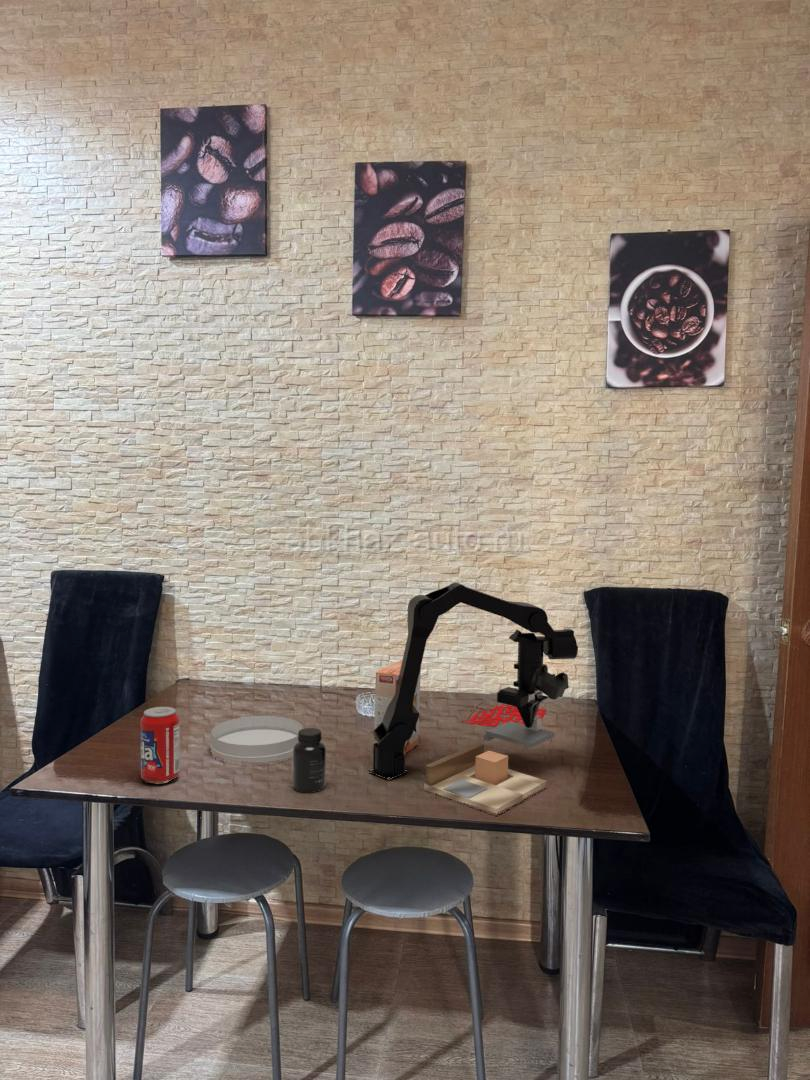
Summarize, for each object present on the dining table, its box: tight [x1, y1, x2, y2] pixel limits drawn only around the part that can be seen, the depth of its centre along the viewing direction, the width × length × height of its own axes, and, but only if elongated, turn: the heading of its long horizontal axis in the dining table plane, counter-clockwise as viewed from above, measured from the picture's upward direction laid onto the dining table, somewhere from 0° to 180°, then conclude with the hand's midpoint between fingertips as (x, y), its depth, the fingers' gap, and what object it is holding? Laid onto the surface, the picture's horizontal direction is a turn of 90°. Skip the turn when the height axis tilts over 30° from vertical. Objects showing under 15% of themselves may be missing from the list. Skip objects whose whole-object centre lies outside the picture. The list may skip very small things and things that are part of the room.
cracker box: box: [373, 659, 422, 755], centre depth 179 cm, size 14×6×21 cm, turn 155°
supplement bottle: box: [292, 727, 327, 793], centre depth 158 cm, size 7×7×12 cm
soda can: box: [140, 706, 181, 781], centre depth 161 cm, size 8×8×15 cm
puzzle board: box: [423, 742, 548, 814], centre depth 159 cm, size 18×19×6 cm
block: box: [475, 750, 509, 785], centre depth 162 cm, size 5×5×6 cm
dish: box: [209, 715, 304, 762], centre depth 181 cm, size 22×22×5 cm
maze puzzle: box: [465, 703, 547, 728], centre depth 210 cm, size 20×20×1 cm
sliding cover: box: [483, 716, 556, 749], centre depth 172 cm, size 13×10×5 cm
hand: (528, 727), depth 173 cm, fingers closed
